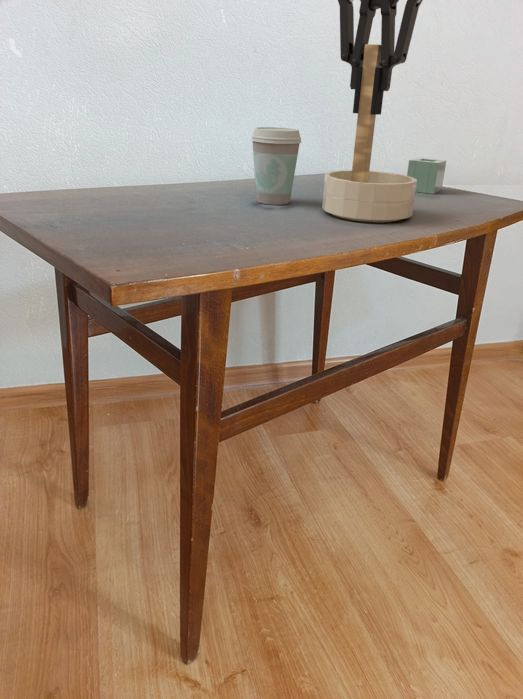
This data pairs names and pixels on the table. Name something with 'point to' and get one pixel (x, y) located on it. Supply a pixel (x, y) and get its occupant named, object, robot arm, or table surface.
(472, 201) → the table surface
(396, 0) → the robot arm
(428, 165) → the holder
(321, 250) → the table surface
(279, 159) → the coffee cup
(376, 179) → the bowl
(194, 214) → the table surface
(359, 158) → the stick
